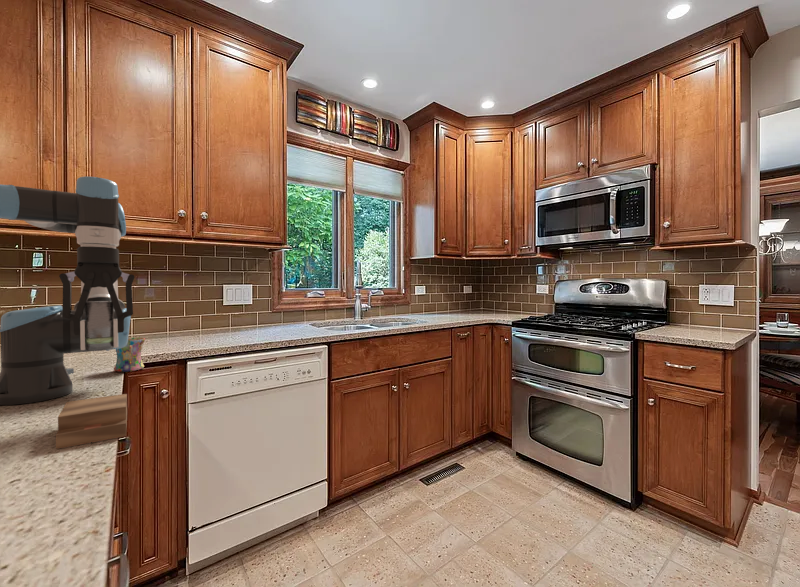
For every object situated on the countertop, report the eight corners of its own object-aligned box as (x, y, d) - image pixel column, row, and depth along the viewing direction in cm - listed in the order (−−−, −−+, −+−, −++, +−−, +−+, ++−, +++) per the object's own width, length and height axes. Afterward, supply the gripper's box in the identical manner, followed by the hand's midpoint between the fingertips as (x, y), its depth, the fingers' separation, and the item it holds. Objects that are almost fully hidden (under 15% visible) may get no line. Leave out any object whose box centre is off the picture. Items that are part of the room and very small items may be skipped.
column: (86, 348, 87) (85, 301, 87) (114, 346, 90) (114, 300, 90) (84, 352, 83) (83, 302, 83) (113, 349, 86) (113, 301, 86)
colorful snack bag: (111, 369, 129) (110, 339, 129) (143, 366, 135) (143, 336, 135) (113, 376, 120) (113, 343, 119) (148, 372, 126) (148, 340, 126)
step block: (67, 425, 77) (66, 401, 77) (127, 416, 83) (126, 393, 83) (56, 449, 66) (55, 421, 66) (126, 436, 72) (125, 410, 72)
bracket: (74, 374, 125) (74, 368, 125) (43, 382, 114) (43, 375, 114) (62, 374, 125) (62, 368, 125) (31, 382, 114) (30, 375, 114)
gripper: (40, 242, 78) (43, 354, 78) (146, 248, 88) (148, 346, 89) (47, 245, 84) (49, 349, 84) (146, 250, 94) (147, 342, 95)
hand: (100, 347), depth 87 cm, fingers closed on column, 5 cm apart
